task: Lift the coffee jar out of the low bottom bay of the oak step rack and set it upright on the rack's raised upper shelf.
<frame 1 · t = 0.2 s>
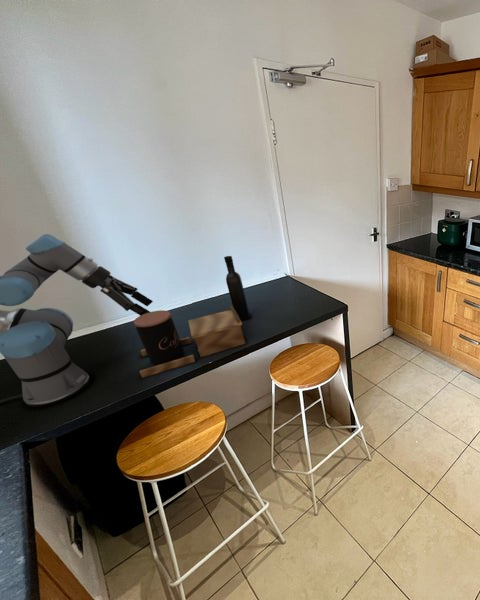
hand: (150, 310, 121), 16 cm above the countertop, tool tilted 35°, fingers open, 13 cm apart
coffee jar: (168, 358, 119), on the countertop
wine bottle: (243, 318, 147), on the countertop
rack: (195, 350, 124), on the countertop
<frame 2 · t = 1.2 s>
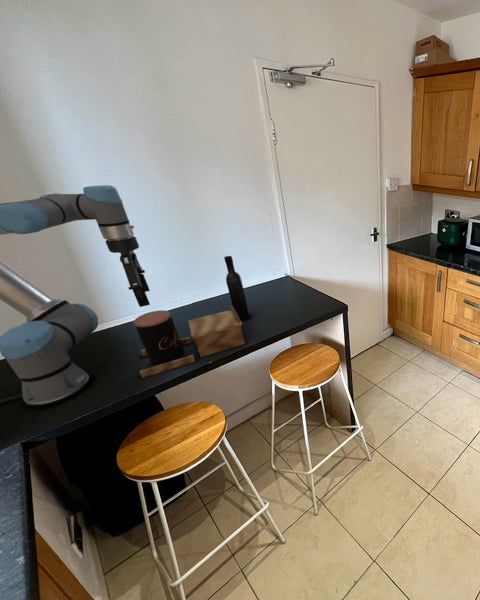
hand: (145, 298, 108), 25 cm above the countertop, tool pointing down, fingers open, 13 cm apart
nothing on the countertop moved.
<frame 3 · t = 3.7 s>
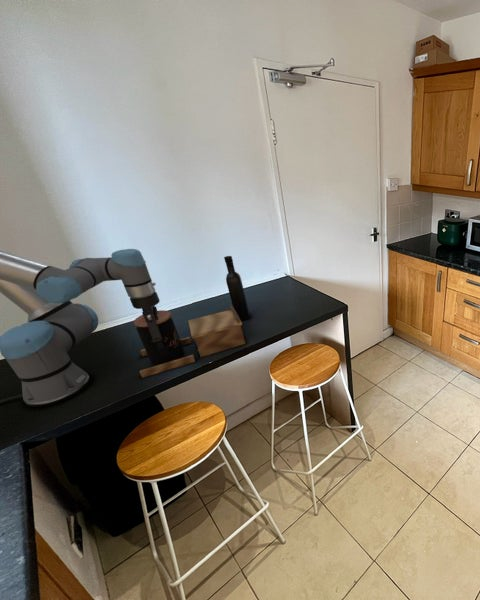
hand: (164, 347, 117), 5 cm above the countertop, tool pointing down, fingers closed on coffee jar, 11 cm apart
coffee jar: (168, 358, 119), on the countertop, touching gripper
everything else where it was.
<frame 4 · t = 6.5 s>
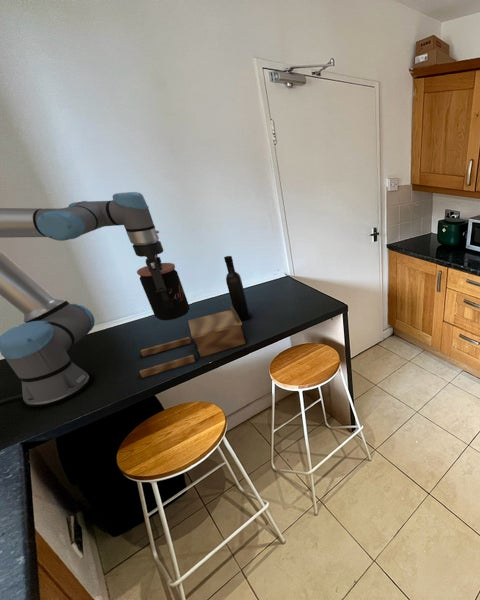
hand: (169, 302, 112), 22 cm above the countertop, tool pointing down, fingers closed on coffee jar, 11 cm apart
coffee jar: (173, 314, 115), point 17 cm above the countertop, touching gripper
everything else where it was.
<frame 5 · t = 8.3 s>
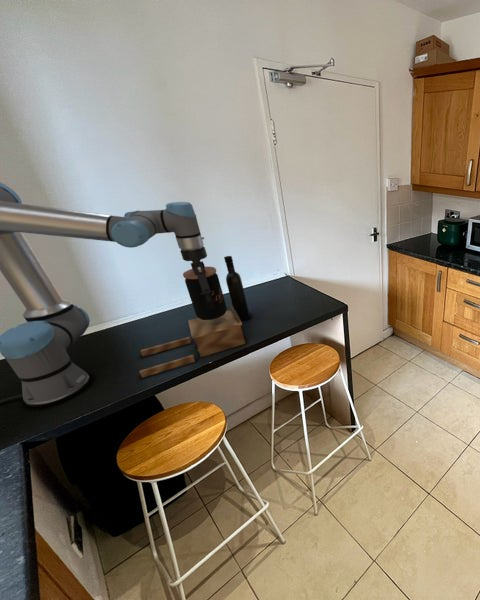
hand: (209, 303, 120), 18 cm above the countertop, tool pointing down, fingers closed on coffee jar, 11 cm apart
coffee jar: (212, 314, 123), point 13 cm above the countertop, touching gripper
everything else where it was.
when the fingers open (15 cm above the countertop, at t = 9.7 s): coffee jar stays where it is, resting on rack.
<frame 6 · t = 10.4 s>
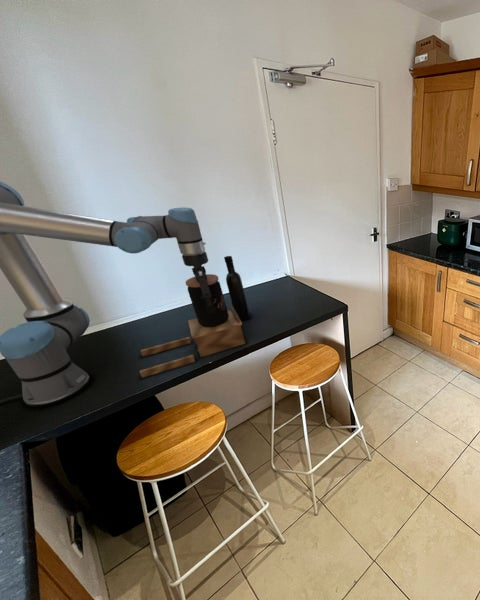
hand: (209, 305, 121), 17 cm above the countertop, tool pointing down, fingers open, 13 cm apart
coffee jar: (214, 321, 124), point 10 cm above the countertop, touching rack
everything else where it was.
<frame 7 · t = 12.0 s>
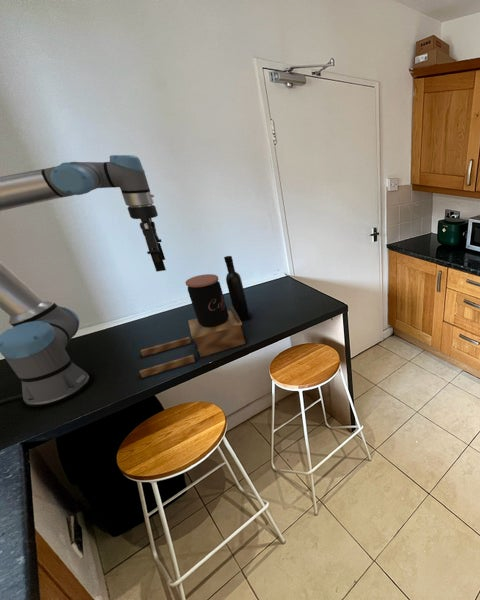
hand: (161, 265, 114), 33 cm above the countertop, tool pointing down, fingers open, 13 cm apart
nothing on the countertop moved.
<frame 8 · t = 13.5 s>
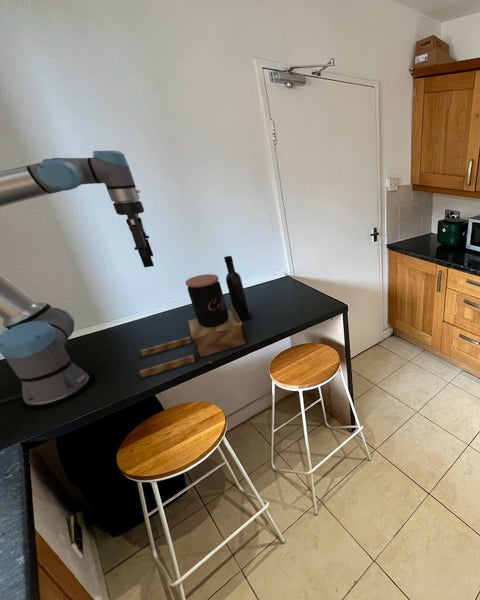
hand: (149, 261, 114), 35 cm above the countertop, tool pointing down, fingers open, 13 cm apart
nothing on the countertop moved.
at the end: coffee jar inside the target area on the rack (0.2 cm from its centre), point 10.0 cm above the rack's base; coffee jar tilted 0°; the gripper is holding nothing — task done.
